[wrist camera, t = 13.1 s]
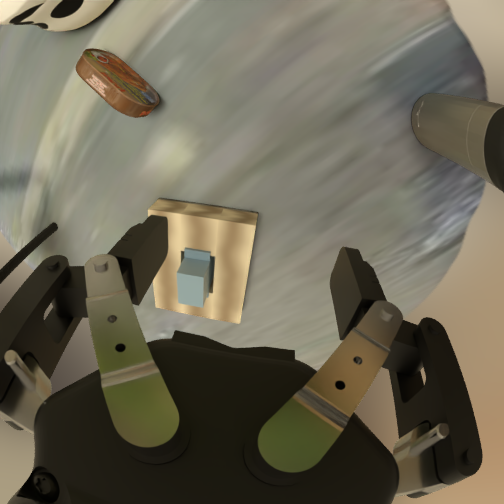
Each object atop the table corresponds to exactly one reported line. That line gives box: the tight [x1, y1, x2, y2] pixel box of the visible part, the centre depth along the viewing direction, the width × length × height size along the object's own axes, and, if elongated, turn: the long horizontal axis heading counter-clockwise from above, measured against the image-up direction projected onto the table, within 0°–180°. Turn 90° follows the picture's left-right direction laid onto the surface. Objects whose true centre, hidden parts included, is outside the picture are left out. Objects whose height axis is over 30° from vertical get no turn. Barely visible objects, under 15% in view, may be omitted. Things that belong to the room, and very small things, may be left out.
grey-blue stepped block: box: [177, 247, 214, 308], centre depth 43 cm, size 4×9×8 cm, turn 173°
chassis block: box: [148, 198, 258, 324], centre depth 45 cm, size 16×20×4 cm
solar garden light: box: [0, 222, 58, 284], centre depth 34 cm, size 12×12×30 cm
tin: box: [76, 49, 159, 118], centre depth 28 cm, size 15×3×8 cm, turn 42°
